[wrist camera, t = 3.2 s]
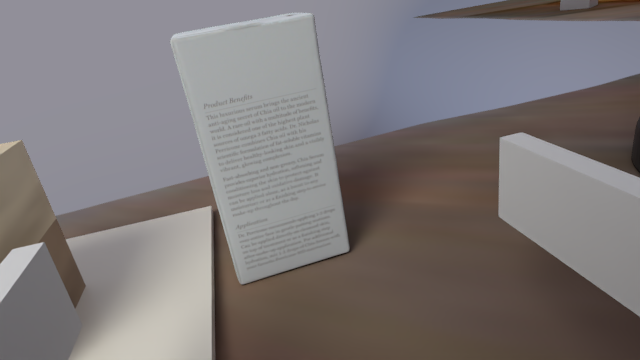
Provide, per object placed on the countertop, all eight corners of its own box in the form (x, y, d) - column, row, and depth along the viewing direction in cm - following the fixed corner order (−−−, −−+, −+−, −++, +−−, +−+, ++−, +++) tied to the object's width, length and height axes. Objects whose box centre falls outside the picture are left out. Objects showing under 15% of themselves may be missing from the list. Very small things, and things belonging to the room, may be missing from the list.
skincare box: (327, 219, 26) (293, 12, 22) (351, 254, 23) (317, 10, 18) (228, 247, 25) (170, 32, 20) (237, 289, 21) (168, 36, 17)
